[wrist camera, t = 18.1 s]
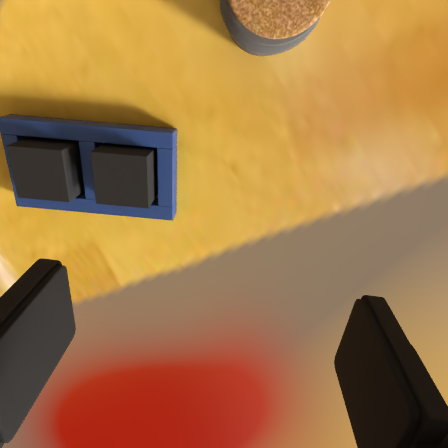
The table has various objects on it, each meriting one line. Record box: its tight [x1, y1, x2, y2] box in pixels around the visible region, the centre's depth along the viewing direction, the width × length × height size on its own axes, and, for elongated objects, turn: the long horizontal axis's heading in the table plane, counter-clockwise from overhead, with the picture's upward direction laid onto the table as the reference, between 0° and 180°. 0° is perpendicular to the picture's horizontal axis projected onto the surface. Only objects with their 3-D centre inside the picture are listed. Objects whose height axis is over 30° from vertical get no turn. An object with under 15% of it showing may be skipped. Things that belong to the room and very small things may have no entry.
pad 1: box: [6, 137, 85, 202], centre depth 32 cm, size 5×5×4 cm
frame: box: [0, 114, 177, 220], centre depth 33 cm, size 9×16×2 cm, turn 86°
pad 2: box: [91, 143, 158, 209], centre depth 32 cm, size 5×5×4 cm
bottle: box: [219, 0, 331, 56], centre depth 20 cm, size 6×6×15 cm
